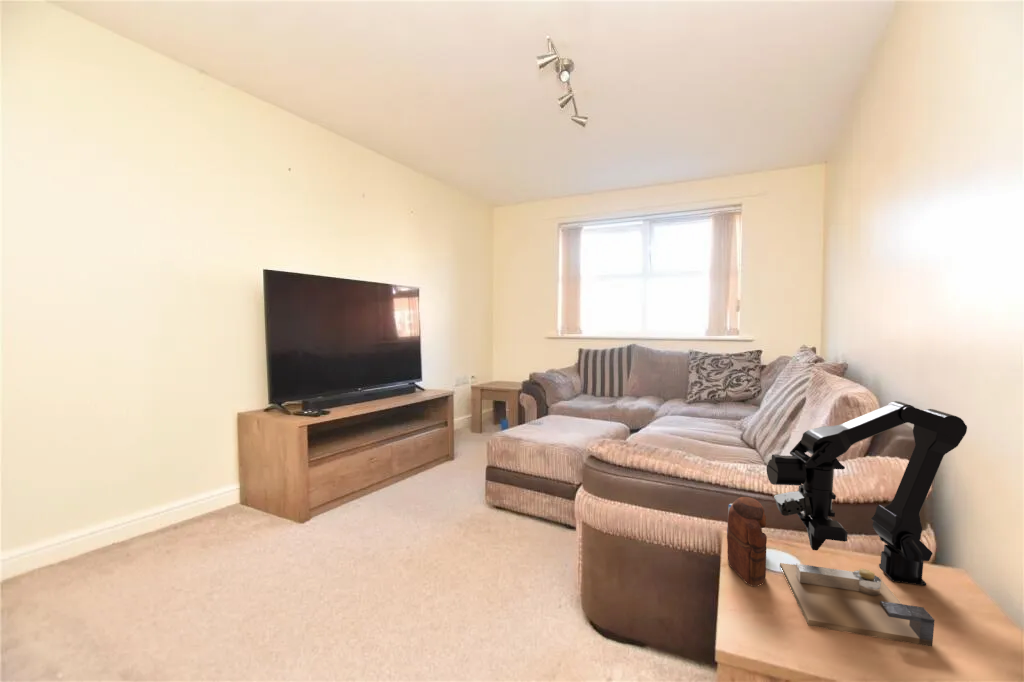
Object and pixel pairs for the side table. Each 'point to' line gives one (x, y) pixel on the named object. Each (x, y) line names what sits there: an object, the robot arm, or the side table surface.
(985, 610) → the side table surface
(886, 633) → the board
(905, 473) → the robot arm
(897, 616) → the keeper
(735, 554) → the brown wooden carving
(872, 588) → the link
